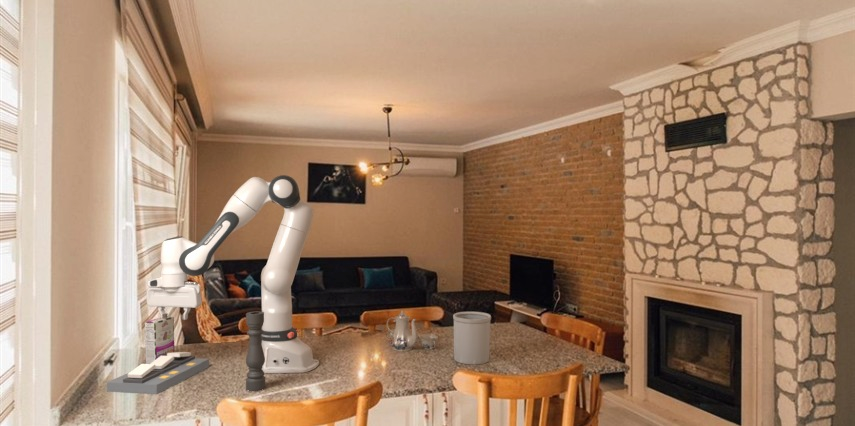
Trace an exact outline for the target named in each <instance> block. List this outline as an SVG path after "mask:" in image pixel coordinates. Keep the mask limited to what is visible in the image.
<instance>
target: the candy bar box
mask: <svg viewBox="0 0 855 426" xmlns="http://www.w3.org/2000/svg"><path fill="white" fill-rule="evenodd" d="M167 316H168V315H167ZM174 321H175V320H174V316H168V318H167V319H161V316H160V317H158V318H153V319H150V320H148V321H144V340H145V341H144V344H145V345H144V346H145V349H144V350H145V364H150V363H152V362H153V361H154V360H156V359H157V358H159V357H160V356H167V353H173V352H176V351H175V322H174Z"/></svg>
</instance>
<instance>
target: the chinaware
mask: <svg viewBox="0 0 855 426" xmlns="http://www.w3.org/2000/svg"><path fill="white" fill-rule="evenodd" d="M410 317H411V316H409V315H407V314H406V313H405V312H404V310H401V311H400V313H399V314H397V315H395V316H394V317H390V318H388V319H387V321H386V323H385V325H386V329H387V332H386V333H385V336H386V339H388V340H389V339H390V340H389V345H390V346H391V348H392V350H393V351H396V352H409V351H411V350H413V347H414V346H415V345H416V344H417V343H418V340H419V341H420V345H421V346H422V347H424V350H433V349H434V348H436V344H437V341H438V338H439V337H440V336H438V335H436V334H434V333H431V334H429V335H428V334H426V333H422V334H421V335H419V334H418V330H417V327H416V323H415V322H416V320H417V318H413V319H412V320H411V325H410ZM390 320H393V323H395V328H394V329H390V327H389V322H390ZM410 326H411V329H410ZM388 336H389V337H388Z"/></svg>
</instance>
